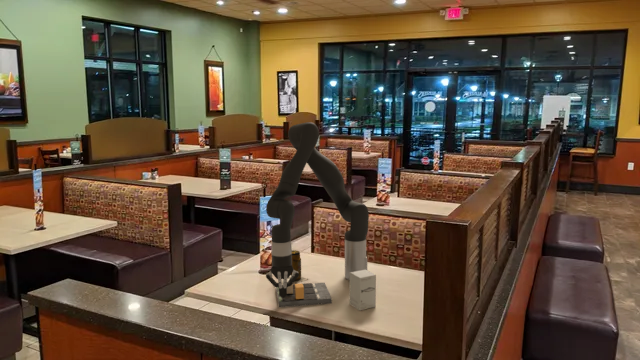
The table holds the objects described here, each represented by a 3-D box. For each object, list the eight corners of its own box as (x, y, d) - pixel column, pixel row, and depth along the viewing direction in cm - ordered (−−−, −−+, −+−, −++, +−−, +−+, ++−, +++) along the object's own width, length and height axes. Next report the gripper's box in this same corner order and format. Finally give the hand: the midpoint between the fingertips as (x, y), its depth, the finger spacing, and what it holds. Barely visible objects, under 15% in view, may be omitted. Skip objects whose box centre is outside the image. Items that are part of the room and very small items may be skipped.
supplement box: (359, 311, 176) (359, 278, 174) (349, 304, 183) (348, 271, 181) (376, 307, 180) (376, 274, 178) (365, 300, 186) (365, 268, 184)
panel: (324, 287, 200) (324, 282, 200) (331, 303, 184) (331, 297, 183) (276, 290, 197) (276, 285, 197) (278, 307, 181) (278, 301, 180)
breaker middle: (292, 289, 191) (291, 278, 191) (293, 293, 187) (292, 282, 187) (284, 290, 191) (284, 279, 190) (285, 293, 187) (285, 282, 186)
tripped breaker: (302, 294, 186) (302, 283, 185) (303, 298, 182) (303, 287, 181) (294, 295, 186) (294, 283, 185) (295, 299, 182) (295, 287, 181)
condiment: (296, 274, 216) (295, 248, 214) (307, 279, 209) (307, 252, 208) (282, 278, 211) (282, 251, 209) (294, 283, 205) (293, 256, 203)
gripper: (298, 248, 185) (299, 292, 188) (263, 250, 183) (264, 294, 186) (300, 254, 178) (301, 299, 180) (264, 256, 176) (265, 302, 178)
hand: (282, 296), depth 183 cm, fingers closed
